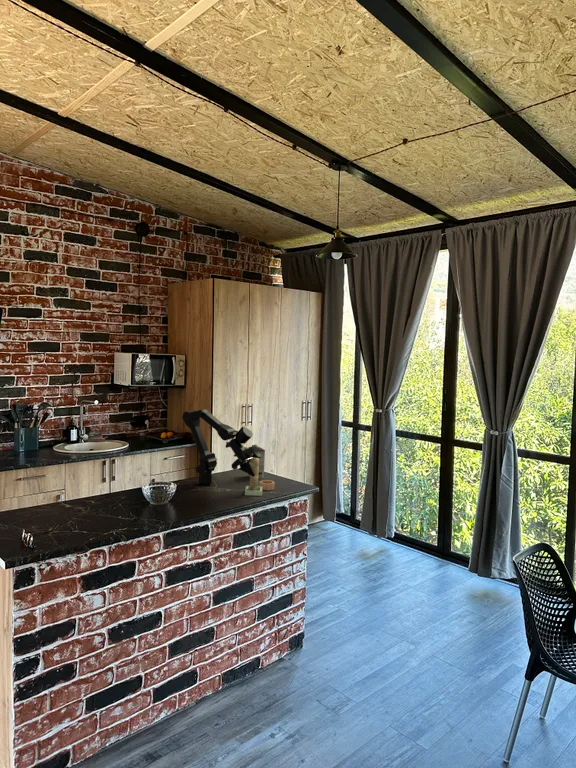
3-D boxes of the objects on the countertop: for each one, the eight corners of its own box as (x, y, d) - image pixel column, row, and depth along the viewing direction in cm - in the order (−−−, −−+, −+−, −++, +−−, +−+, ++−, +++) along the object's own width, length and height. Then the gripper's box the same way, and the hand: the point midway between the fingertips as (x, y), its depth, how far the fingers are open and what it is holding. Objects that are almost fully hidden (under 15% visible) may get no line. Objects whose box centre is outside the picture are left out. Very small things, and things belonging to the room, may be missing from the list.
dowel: (248, 491, 259) (249, 458, 257) (251, 489, 263) (252, 457, 261) (255, 492, 257) (257, 459, 256) (259, 490, 261) (260, 458, 260)
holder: (259, 490, 266) (259, 483, 265) (259, 486, 273) (260, 479, 273) (274, 491, 266) (274, 484, 265) (274, 487, 273) (274, 480, 273)
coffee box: (247, 475, 294) (247, 446, 293) (258, 474, 297) (258, 446, 296) (253, 479, 286) (254, 450, 285) (264, 479, 289) (265, 449, 287)
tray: (244, 496, 256) (245, 490, 256) (246, 491, 264) (246, 486, 264) (261, 496, 256) (261, 491, 256) (262, 491, 264) (262, 486, 264)
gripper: (237, 442, 252) (255, 469, 247) (259, 436, 268) (277, 461, 263) (223, 456, 257) (241, 482, 252) (246, 450, 273) (263, 475, 268)
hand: (256, 475), depth 259 cm, fingers closed on dowel, 4 cm apart
